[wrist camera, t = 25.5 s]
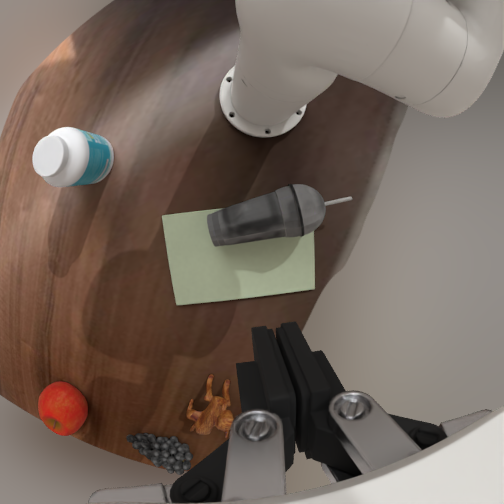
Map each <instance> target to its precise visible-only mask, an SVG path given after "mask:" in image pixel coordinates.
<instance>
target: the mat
mask: <svg viewBox="0 0 504 504" xmlns="http://www.w3.org/2000/svg"><path fill="white" fill-rule="evenodd" d="M222 209H224V208H222ZM218 210H221V209H212V210H203V211H195V212H186V213H178V214H170V215H163V216H162V220H163V228H164V235H165V241H166V248H167V254H168V261H169V267H170V273H171V278H172V284H173V290H174V295H175V300H176V305H186V304H196V303H206V302H215V301H225V300H234V299H242V298H251V297H259V296H267V295H275V294H282V293H290V292H297V291H304V290H311V289H315V261H314V231H312V232H311V233H309V234H306V235H304V236H302V237H300V236H298V237H287V238H286V237H281V238H274V239H267V240H260V241H254V242H247V243H241V244H234V245H224V246H217V247H215V246H214V244H213V242H212V240H211V237H210V234H209V229H208V224H207V215H208V214H212V213H214V212H216V211H218Z"/></svg>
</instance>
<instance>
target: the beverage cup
mask: <svg viewBox="0 0 504 504" xmlns="http://www.w3.org/2000/svg"><path fill="white" fill-rule="evenodd" d="M349 200H352V197H346V198H341V199H337V200H332V201H327V202H324V200H323V198H322V196H321V195H320V193H319V192H318V191H316V190H315V189H314V188H312V187H310V186H306V185H302V184H294V185H291V184H288V186H286V187H282V188H280V189H278V190H275V192H272V193H269V194H266V195H263V196H259V197H256V198H253V199H250V200H247V201H244V202H241V203H238V204H235V205H232V206H229V207H227V208H224V209H221V210H218V211H216V212H214V213H212V214H208V215H207V224H208V229H209V234H210V237H211V240H212V242H213V244H214V246H215V247H217V246H224V245H234V244H241V243H247V242H254V241H260V240H267V239H274V238H281V237H286V238H287V237H298V236H300V237H302V236H304V235H306V234H309V233H311V232H312V231H314V230H315V229H317V228H318V227H319V226H320V224H321V223H322V221H323V220H324V217H325V211H326V208H325V206H327V205H331V204H336V203H340V202H345V201H349Z"/></svg>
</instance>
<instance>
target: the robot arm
mask: <svg viewBox="0 0 504 504" xmlns="http://www.w3.org/2000/svg"><path fill="white" fill-rule="evenodd" d="M235 2H236V11H237V17H238V21H239V25H240V29H241V34H240V42H239V48H238V53H237V58H236V64H235V66H234V67H233V68H232V69H230V70H229V72H228V73H227V74H226V75H225V77H224V79H223V81H222V83H221V87H220V95H219V96H220V105H221V108H222V111H223V113H224V115H225V117H226V118H227V119H228V121H229V122H230V123H231V124H232V125H233V126H234V127H235V128H237V129H238V130H240V131H242V132H243V133H245V134H248V135H251V136H255V137H274V136H278V135H281V134H284V133H286V132H287V131H289V130H291V129H292V128H293V127H294V126H296V125H297V123H298V122H299V121H300V120H301V118H302V117H303V115H304V112H305V109H306V105H307V103H309V102H310V101H311V100H313V99H314V98H315V97H317V96H318V95H319V94H321V93H322V92H323V91H325V90H326V89H327V88H328V87H329V86H330V85H331V84H332V83H333V81H334V80H335V78H336V76H337V74H339V75H342V76H344V77H347V78H349V79H352V80H355V81H358V82H361V83H363V84H365V85H367V86H370V87H372V88H374V89H376V90H378V91H380V92H382V93H384V94H386V95H388V96H390V97H392V98H394V99H396V100H398V101H400V102H402V103H404V104H406V105H408V106H410V107H412V108H414V109H416V110H418V111H420V112H422V113H424V114H427V115H430V116H434V117H441V118H445V117H452V116H455V115H457V114H460V113H462V112H463V111H465V110H466V109H468V108H469V107H470V106H471V105H472V104H473V103H474V102H475V101H476V100H477V99H478V97H480V95H481V94H482V92H483V91H484V89H485V88H486V86H487V85H488V83H489V81H490V79H491V77H492V75H493V73H494V71H495V69H496V67H497V65H498V62H499V60H500V58H501V55H502V53H503V51H504V0H235ZM228 80H230V81H231V82H227V81H228ZM296 112H298V113H299V115H297V114H296ZM231 114H232V115H233V116H234V117H230V115H231ZM265 131H268V134H266V133H265ZM252 340H253V350H254V360H255V361H252V362H244V363H236V368H237V376H238V384H239V392H240V400H241V408H242V413H241V414H239V415H238V416H236V418H235V419H234V420H233V421H232V424H231V428H230V436H229V439H228V440H227V441H225V442H224V443H223V444H222V445H221V446H219V447H218V448H217V449H216V450H215V451H213V452H212V453H211V454H210V455H208V456H207V457H206V458H205V459H203V460H202V461H201V462H200V463H198V464H197V465H196V466H194V467H193V468H192V469H191V470H189V471H188V472H187V473H185V474H184V475H183V476H181V477H180V478H178V479H177V480H176V481H175V483H173V484H171V485H165V486H163V484H162V483H159V484H151V485H144V486H134V487H123V488H105V489H101V490H97V491H96V492H94V493H93V494H92V495H91V496H90V498H89V501H88V504H504V406H502V407H500V408H498V409H496V410H494V411H492V410H487V409H486V410H481V411H478V412H475V413H472V414H469V415H465V416H463V417H459V418H456V419H452V420H449V421H445V422H441V424H440V426H437V425H434V424H431V423H427V422H422V421H417V420H413V419H408V418H404V417H399V416H395V415H391V414H387V413H386V412H385V410H384V409H383V408H382V407H381V406H380V405H379V404H378V403H377V402H376V401H375V400H374V399H373V398H372V397H371V396H370V395H368V394H366V393H363V392H360V391H345V389H344V387H343V386H342V384H341V382H340V380H339V379H338V377H337V375H336V373H335V372H334V370H333V368H332V367H331V365H330V363H329V361H328V360H327V358H326V356H325V354H324V353H323V352H322V351H321V350H320V351H315V352H312V351H311V350H310V348H309V346H308V344H307V342H306V340H305V338H304V336H303V334H302V332H301V330H300V328H299V327H298V325H297V323H296V322H289V323H282V324H281V328H276V338H275V335H274V332H273V330H272V329H267V327H266V326H261V327H253V328H252ZM295 441H296V444H297V448H298V451H299V452H305V455H306V458H307V459H310V458H312V459H313V460H316V461H319V462H321V466H322V469H323V471H324V472H325V474H326V476H327V477H328V479H329V480H330V482H331V484H330V485H326V486H322V487H318V488H314V489H309V490H305V491H300V492H295V493H290V494H286V478H285V472H286V471H287V470H288V469H289V468H290V467H291V465H292V464H293V460H294V453H295Z"/></svg>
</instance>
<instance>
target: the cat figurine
mask: <svg viewBox="0 0 504 504" xmlns="http://www.w3.org/2000/svg"><path fill="white" fill-rule="evenodd" d="M213 378H214V375H211V374H210V375H209V376H208V379H207V383H206V396H205V397H204V399H205V400H206V401H209V402H210V403H209V405H208V406H207V408H206V409H205V410H204V411H201V412H200V411H195V410H193V409H192V404H193V401H194V400H193V399H192V400H191V401H190V403H189V406H188V408H187V412H186V416H187V418H188V419H191V420H193V421H195V422H194V424H193V425H192V427H191V429H190V431H193V430H194V429H195V427H196V432H197V433H198V434H201V435H205V434H209V433H210V432H211V430H212V428H213V427H214V426H216V427H217V428H218V429H219V430H221V431H225V436H226V438H227V435H228V430H229V429H230V428H231V424H232V421H233V415H232V412H231V411H229V410H226V407H229V406H230V398H229V393H228V389H229V384H230V382H231V381H230V380H225V382H224V384H223V388H222V394H223V398H222V397H219V396H212V390H211V384H212V380H213Z"/></svg>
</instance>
